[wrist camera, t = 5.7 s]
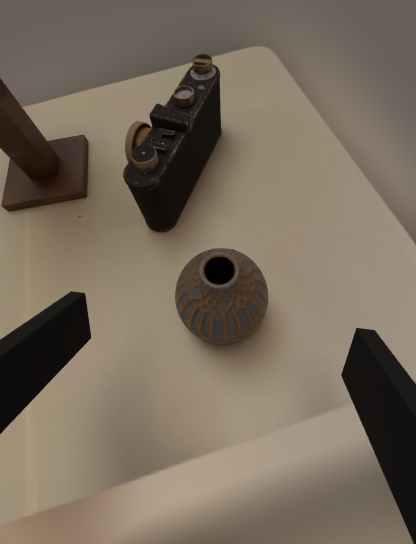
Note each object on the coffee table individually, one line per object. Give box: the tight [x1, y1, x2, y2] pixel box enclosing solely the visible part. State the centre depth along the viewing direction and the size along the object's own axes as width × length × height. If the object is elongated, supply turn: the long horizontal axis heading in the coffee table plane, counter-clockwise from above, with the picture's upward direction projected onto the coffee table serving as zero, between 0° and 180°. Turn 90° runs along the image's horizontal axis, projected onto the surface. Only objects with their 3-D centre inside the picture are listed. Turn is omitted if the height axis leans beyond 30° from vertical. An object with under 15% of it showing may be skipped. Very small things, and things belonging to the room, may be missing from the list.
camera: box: [123, 54, 221, 232], centre depth 26 cm, size 16×7×8 cm, turn 159°
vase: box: [175, 248, 268, 344], centre depth 19 cm, size 7×7×9 cm
